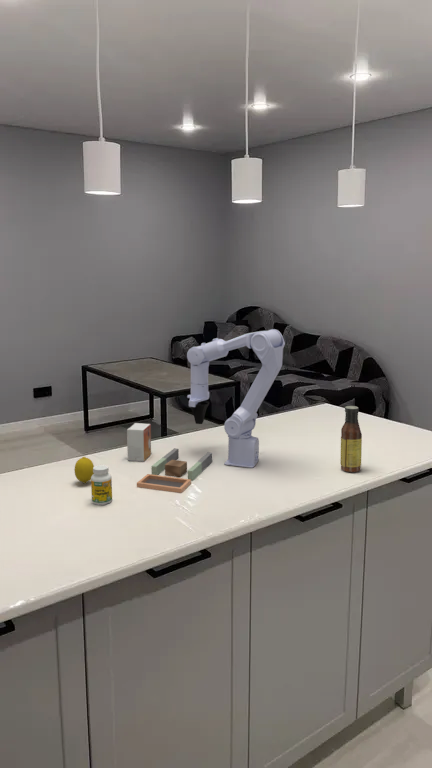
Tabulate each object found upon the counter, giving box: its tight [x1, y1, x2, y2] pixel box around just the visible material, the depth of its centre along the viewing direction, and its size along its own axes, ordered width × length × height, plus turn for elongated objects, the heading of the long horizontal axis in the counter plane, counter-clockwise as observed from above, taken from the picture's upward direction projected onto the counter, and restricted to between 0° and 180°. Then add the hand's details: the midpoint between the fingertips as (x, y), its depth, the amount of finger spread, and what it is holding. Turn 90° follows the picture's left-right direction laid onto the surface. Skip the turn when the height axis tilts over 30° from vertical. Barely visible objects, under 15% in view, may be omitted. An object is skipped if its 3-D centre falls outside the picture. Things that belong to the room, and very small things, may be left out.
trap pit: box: [136, 473, 192, 494], centre depth 172 cm, size 14×8×1 cm, turn 72°
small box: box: [126, 422, 152, 462], centre depth 195 cm, size 8×6×10 cm
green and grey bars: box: [150, 448, 213, 482], centre depth 186 cm, size 13×18×3 cm
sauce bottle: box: [340, 405, 363, 473], centre depth 184 cm, size 6×6×20 cm
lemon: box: [74, 456, 95, 484], centre depth 173 cm, size 6×6×8 cm
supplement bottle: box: [90, 464, 113, 506], centre depth 160 cm, size 5×5×10 cm
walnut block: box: [164, 459, 188, 478], centre depth 182 cm, size 5×5×4 cm
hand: (199, 423), depth 198 cm, fingers closed
